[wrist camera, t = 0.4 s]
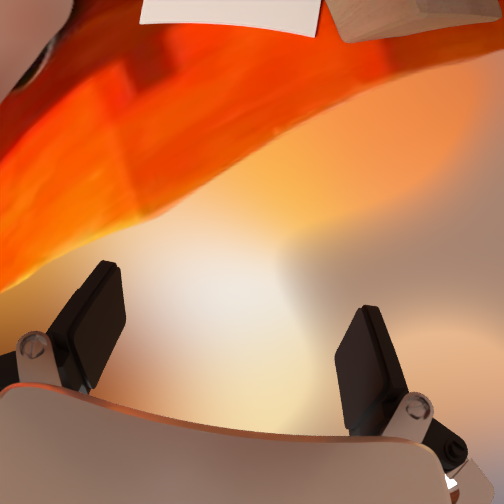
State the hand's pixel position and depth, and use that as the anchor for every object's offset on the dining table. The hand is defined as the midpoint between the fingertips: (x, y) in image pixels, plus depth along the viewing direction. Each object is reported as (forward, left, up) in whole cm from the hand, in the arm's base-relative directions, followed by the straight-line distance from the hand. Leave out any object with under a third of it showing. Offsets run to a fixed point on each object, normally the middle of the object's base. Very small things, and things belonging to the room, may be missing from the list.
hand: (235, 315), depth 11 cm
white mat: (-23, -7, -31) cm, 39 cm away
